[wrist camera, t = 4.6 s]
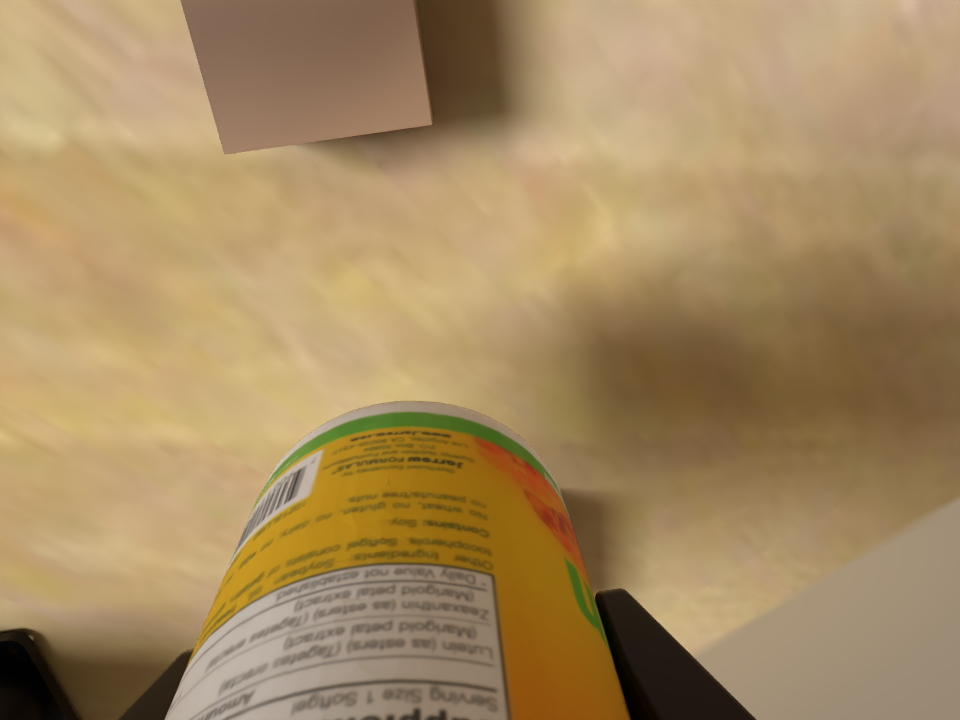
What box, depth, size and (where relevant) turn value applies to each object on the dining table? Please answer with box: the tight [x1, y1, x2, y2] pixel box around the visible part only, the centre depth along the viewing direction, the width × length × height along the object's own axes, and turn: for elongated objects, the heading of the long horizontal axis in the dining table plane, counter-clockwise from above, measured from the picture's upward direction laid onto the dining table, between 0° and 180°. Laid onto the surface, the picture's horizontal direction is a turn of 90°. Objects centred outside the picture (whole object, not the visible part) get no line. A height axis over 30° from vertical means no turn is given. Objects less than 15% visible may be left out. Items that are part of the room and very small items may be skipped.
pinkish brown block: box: [181, 0, 433, 154], centre depth 15 cm, size 4×4×4 cm
